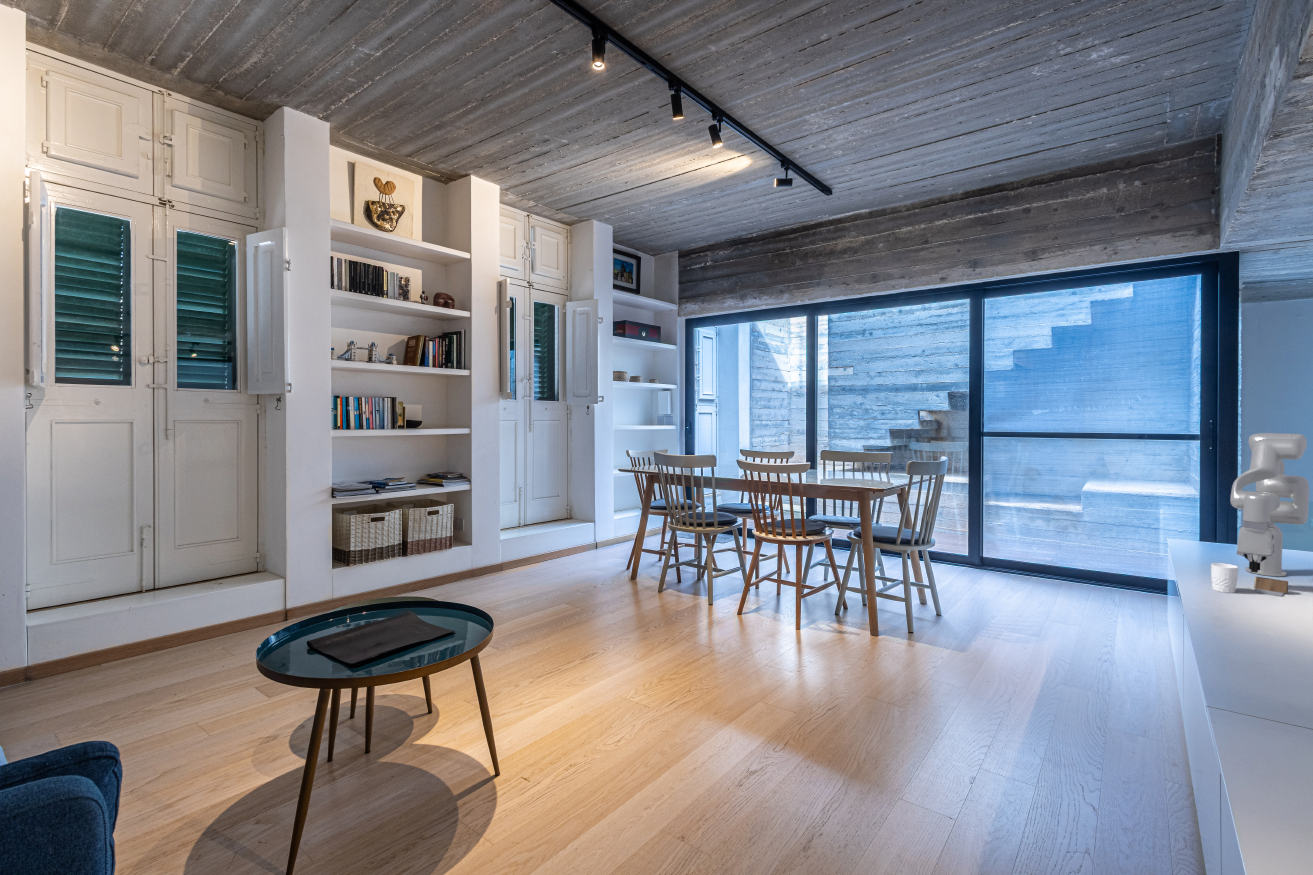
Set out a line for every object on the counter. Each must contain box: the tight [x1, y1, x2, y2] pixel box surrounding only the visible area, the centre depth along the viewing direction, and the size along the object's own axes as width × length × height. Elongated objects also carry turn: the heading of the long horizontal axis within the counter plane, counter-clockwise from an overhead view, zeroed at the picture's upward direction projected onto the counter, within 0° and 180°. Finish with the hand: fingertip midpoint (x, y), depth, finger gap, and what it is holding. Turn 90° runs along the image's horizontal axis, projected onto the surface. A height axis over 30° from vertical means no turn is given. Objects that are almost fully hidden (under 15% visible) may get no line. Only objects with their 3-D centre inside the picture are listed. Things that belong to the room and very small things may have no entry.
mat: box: [1254, 589, 1285, 597], centre depth 241 cm, size 14×8×1 cm, turn 129°
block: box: [1253, 576, 1289, 594], centre depth 240 cm, size 4×4×9 cm
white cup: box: [1210, 562, 1239, 594], centre depth 241 cm, size 8×8×10 cm
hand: (1254, 571), depth 244 cm, fingers closed
